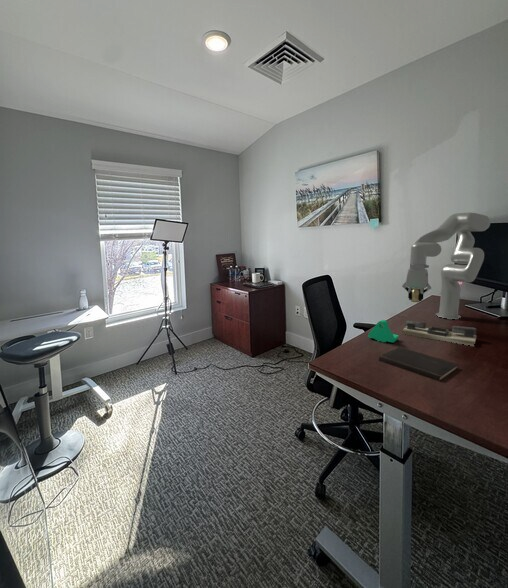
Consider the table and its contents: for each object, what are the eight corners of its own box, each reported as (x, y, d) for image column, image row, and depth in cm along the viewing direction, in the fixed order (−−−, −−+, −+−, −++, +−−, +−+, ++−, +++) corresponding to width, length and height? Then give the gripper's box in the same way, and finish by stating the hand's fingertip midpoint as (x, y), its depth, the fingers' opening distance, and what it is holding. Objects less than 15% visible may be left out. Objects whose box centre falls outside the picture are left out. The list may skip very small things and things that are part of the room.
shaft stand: (407, 328, 162) (408, 317, 161) (475, 339, 143) (477, 327, 142) (401, 333, 153) (402, 322, 152) (473, 346, 135) (475, 333, 133)
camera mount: (398, 340, 145) (400, 319, 143) (393, 344, 140) (394, 323, 138) (373, 335, 153) (374, 315, 151) (367, 339, 148) (368, 319, 146)
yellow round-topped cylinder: (412, 300, 168) (412, 287, 167) (420, 300, 165) (421, 288, 164) (409, 301, 165) (410, 289, 163) (418, 302, 162) (419, 290, 160)
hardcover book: (398, 351, 133) (399, 346, 132) (457, 369, 115) (458, 364, 114) (378, 361, 123) (378, 356, 123) (439, 382, 105) (439, 376, 105)
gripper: (437, 266, 159) (434, 300, 162) (402, 265, 169) (400, 297, 173) (434, 268, 153) (431, 303, 157) (398, 267, 164) (397, 299, 167)
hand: (415, 299), depth 165 cm, fingers closed on yellow round-topped cylinder, 4 cm apart
